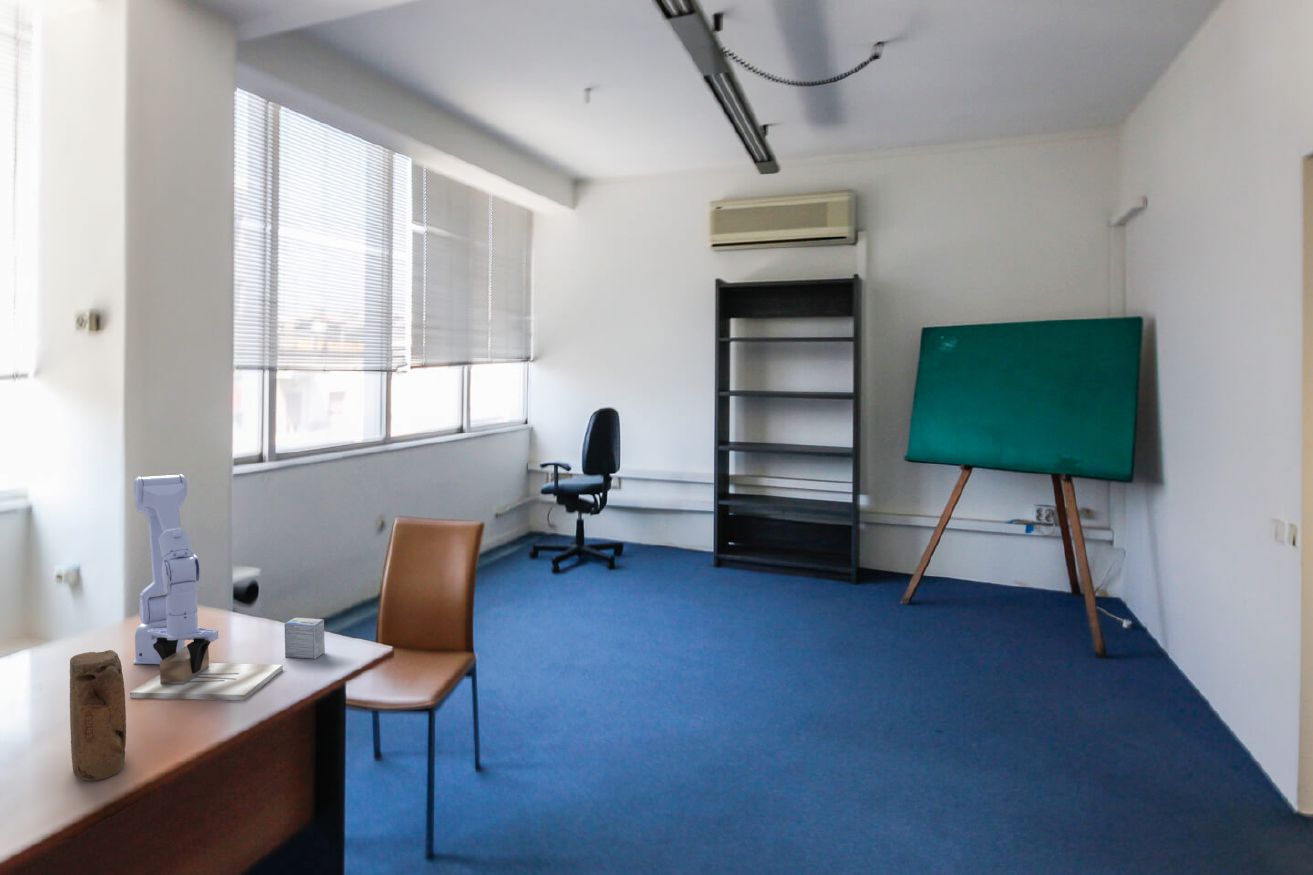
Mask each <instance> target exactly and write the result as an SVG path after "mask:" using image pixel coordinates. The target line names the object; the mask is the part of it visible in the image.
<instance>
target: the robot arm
mask: <svg viewBox="0 0 1313 875" xmlns="http://www.w3.org/2000/svg"><path fill="white" fill-rule="evenodd" d="M133 494H134V506H135V509H136V512H138V513H140V514H144V515H145V518H146V520H147V524H148V536H149V537H148V538H149V549H150V562H151V576H152V582H151V583H150V584H149V585H148V586H146V587H145V588H144V589H143V590H142V591H141V592H140V594H139V604H138V608H139V609H138V610H139V611H138V612H139V619H140V622H141V624H140V625H138V627H137V628H136V630H135V635H134V646H135V647H134V648H135V649H134V650H135V654H134V655H135V656H134V657H135V659H134V660H133V662H132V663H133V664H136V665H137V664H139V665H141V664H142V665H160V661H162V660H164V659H165V658H167V657H169V656H170V655H172V654H174V653H176V652H177V651H179V650H181V649H182V648H184V647H186V646H187V648H188V650H189V653H190V658H191V670H192V673H196V672H198V671H199V670H201V665H202V661H203V658H204V655H205V652H206V650H207V648H208V649H209V646H210V644H211V643H212V642H215V641H217V640H218V639H219V629H211V628H210V629H209V628H205V627H204V628H203V627H201V626H199V622H198V621H199V620H198V588H197V587H198V585H197V584H198V583H197V582H199V581H200V578H201V565H200V561H199V557H198V555H197V554H196V552H195V551H193V549H192V548H193V547H192V543H191V540H190V534H189V532H188V531H187V530H186V529H183V528H182V523H181V513H180V512H181V511H180V509H181V508H182V506H183V505H184V503H185V500H186V498H187V495H188V482H187V478H186V476H184V474H182V473H179V474H172V475H156V476H155V475H154V476H142V477H141V476H137V477H136V478H135V479H134V482H133ZM159 594H161V595H159ZM162 594H163V595H162ZM154 595H155V596H154ZM188 640H189V641H191V642H190V643H188V644H187V645H186V641H188Z"/></svg>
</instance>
